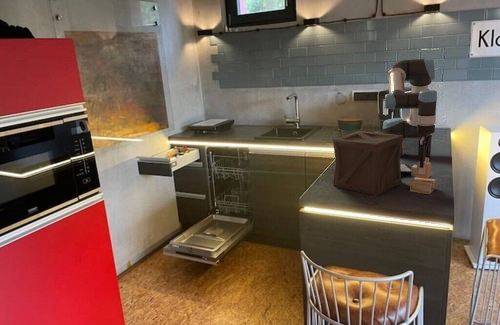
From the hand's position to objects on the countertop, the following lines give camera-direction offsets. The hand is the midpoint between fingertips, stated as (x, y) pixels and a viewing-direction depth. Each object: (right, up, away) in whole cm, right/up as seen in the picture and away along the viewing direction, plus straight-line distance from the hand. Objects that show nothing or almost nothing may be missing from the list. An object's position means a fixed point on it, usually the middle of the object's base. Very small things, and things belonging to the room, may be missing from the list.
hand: (423, 172), depth 182 cm
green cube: (+8, -2, +24) cm, 25 cm away
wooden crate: (-22, -7, +16) cm, 28 cm away
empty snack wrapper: (-6, 0, +37) cm, 38 cm away
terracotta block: (0, -2, +1) cm, 2 cm away
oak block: (+1, -9, +3) cm, 9 cm away
